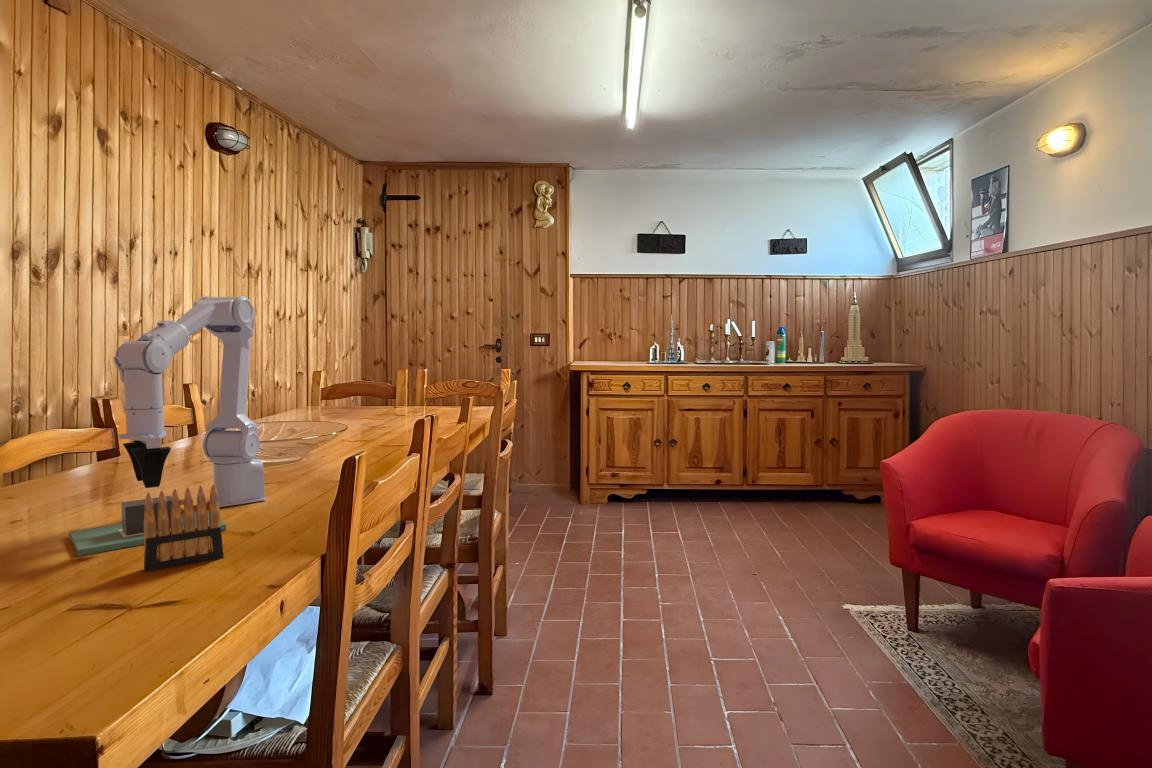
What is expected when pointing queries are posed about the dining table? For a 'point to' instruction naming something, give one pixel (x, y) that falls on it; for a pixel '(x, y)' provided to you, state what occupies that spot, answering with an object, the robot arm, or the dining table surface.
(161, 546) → the ammunition clip
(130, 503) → the block
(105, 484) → the dining table surface
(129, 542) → the board
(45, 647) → the dining table surface
